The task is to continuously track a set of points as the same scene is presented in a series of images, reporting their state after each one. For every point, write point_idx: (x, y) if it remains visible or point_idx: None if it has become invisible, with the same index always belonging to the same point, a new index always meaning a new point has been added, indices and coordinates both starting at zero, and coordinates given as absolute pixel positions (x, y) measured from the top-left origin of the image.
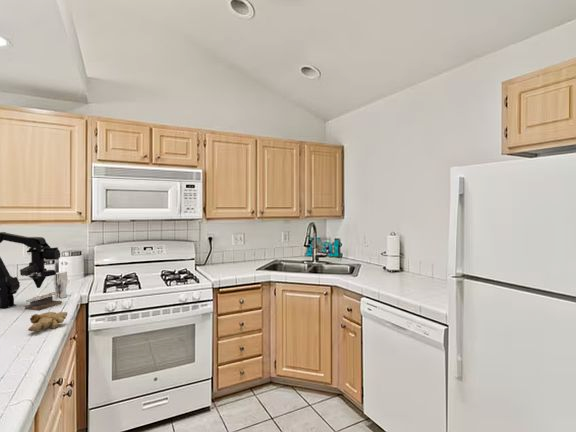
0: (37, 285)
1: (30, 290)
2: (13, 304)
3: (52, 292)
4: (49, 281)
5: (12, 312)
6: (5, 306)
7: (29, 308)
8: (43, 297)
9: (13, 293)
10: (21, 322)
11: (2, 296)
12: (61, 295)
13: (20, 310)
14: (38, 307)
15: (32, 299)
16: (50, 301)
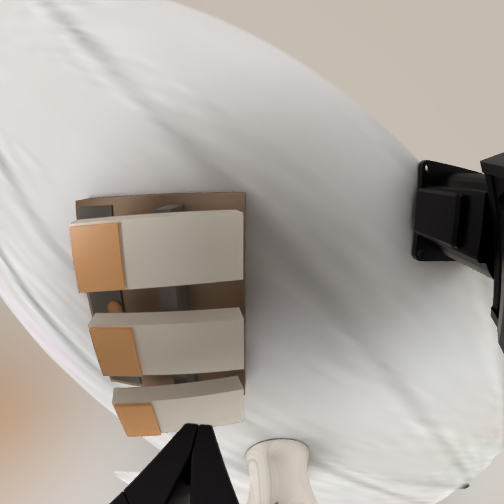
0: (178, 455)
1: (487, 427)
2: (418, 228)
3: (118, 415)
4: (470, 473)
5: (254, 89)
6: (438, 182)
7: (186, 193)
8: (102, 316)
9: (497, 286)
10: (25, 33)
11: (501, 155)
12: (253, 460)
13: (244, 149)
14: (86, 203)
15: (128, 217)
16: None
